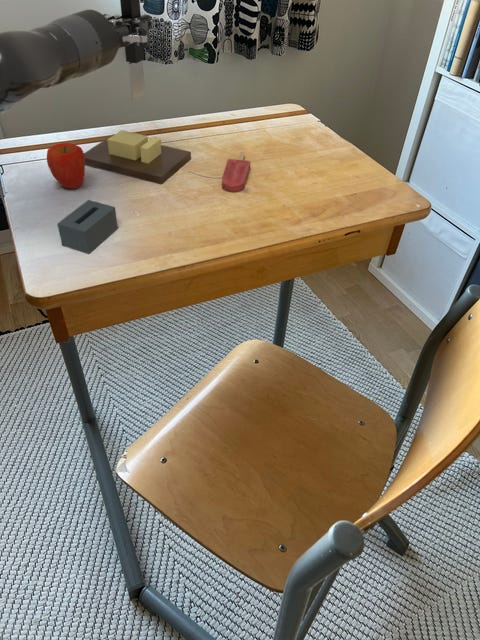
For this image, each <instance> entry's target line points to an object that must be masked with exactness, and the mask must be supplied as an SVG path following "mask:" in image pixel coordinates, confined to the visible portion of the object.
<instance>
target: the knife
mask: <svg viewBox="0 0 480 640" xmlns="http://www.w3.org/2000/svg"><path fill="white" fill-rule="evenodd" d="M119 3H120V14H121V16H122V18H129V19H133V18H137V17H139V16H142V12H141V0H119ZM133 33H134V32H133ZM144 51H145V50H144V48H141V47H140V45H137V42H133V43H131V44H129V45H128V46H126V47H124V52H125V62H127V66H128V67H127V68H128V77H129V87H130V98H131V101H136V100H137V99H139V98H140V97H142V96H144V95H146V86H145V74H144V60H145V53H144Z"/></svg>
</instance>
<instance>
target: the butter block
mask: <svg viewBox="0 0 480 640" xmlns="http://www.w3.org/2000/svg"><path fill="white" fill-rule="evenodd" d="M114 134H115V135H113V134H112V135H113V136H112V137H110V136H109V137H110V138H109V139H107V138H106V139H107V140H108V148H109V154H111V155H115V156H119V157H123V158H128V159H132V160H137V159H138V158H140V157H141V151H140V147H141V146H142V145H144V144H145V143H146V142H148V141H149V136H148V135H144V134H140V133H136V132H132V131H128V130H124V129H123V130H120V131H118V132H116V133H114Z"/></svg>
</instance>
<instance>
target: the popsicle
mask: <svg viewBox="0 0 480 640" xmlns="http://www.w3.org/2000/svg"><path fill="white" fill-rule="evenodd" d="M244 157H245V152H244V151H240V152H239V155H238V158H237V159H235V158H227V160H226V164H225V167H224V171H223V175H222V179H221V187H222V189H223V190H224V191H227V192H231V193H236V192H241V191H242V190H243V189H245V186H246V183H247V181H248V177H249V173H250V170H251V161H250V160H244Z"/></svg>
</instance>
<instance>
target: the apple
mask: <svg viewBox="0 0 480 640" xmlns="http://www.w3.org/2000/svg"><path fill="white" fill-rule="evenodd" d="M84 153H85V151H84V149H83V148H82V147H81V146H80V145H77V144H74V143H71V142H61V143H57V144H53V145H52V146H50V147H48V149H47V152H46V162H47V167H48V169H49V171H50V173H51V175H52V176H53V178H54V179H55V180H56V181H57V182H58V184H59V185H60V186H61V187H63V188H65V189H77V188H79V187H81V186H83V184H84V180H85V175H86V165H85V156H84Z"/></svg>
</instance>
